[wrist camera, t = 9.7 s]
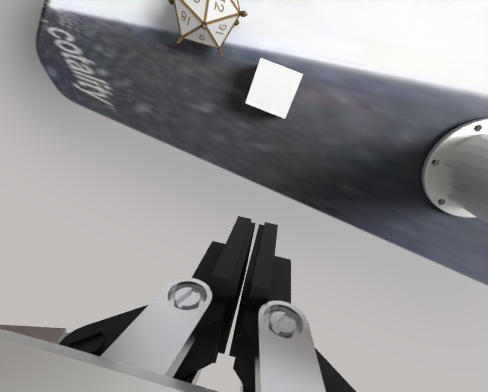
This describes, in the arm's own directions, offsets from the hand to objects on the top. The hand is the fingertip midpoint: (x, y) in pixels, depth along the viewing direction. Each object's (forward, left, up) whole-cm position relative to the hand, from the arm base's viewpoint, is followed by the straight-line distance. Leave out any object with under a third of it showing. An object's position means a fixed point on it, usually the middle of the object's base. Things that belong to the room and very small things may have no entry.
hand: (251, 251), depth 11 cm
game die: (+11, -14, -27) cm, 33 cm away
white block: (+2, -7, -27) cm, 28 cm away
